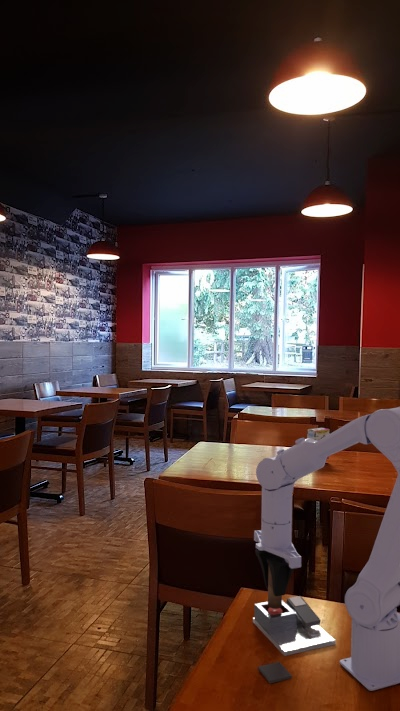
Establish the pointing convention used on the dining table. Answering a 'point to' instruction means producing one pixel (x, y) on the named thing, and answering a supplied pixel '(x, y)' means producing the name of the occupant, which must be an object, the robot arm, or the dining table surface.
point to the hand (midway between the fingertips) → (275, 591)
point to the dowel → (273, 600)
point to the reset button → (275, 611)
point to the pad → (274, 672)
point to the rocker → (303, 611)
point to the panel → (289, 630)
